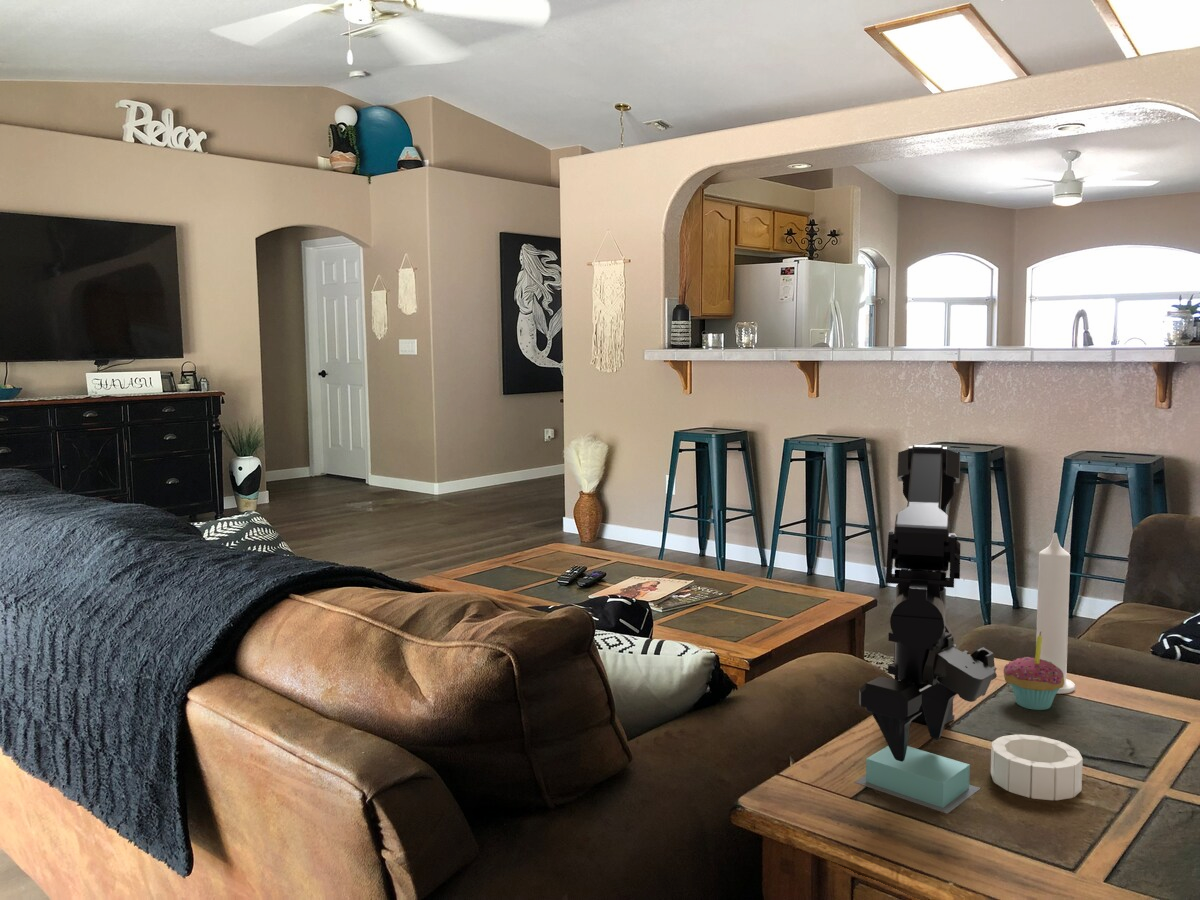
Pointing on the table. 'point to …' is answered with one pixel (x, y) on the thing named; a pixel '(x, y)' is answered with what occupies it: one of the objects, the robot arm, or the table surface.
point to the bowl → (1036, 767)
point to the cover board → (919, 775)
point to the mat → (945, 809)
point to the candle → (1054, 607)
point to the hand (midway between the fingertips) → (917, 748)
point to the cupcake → (1034, 680)
